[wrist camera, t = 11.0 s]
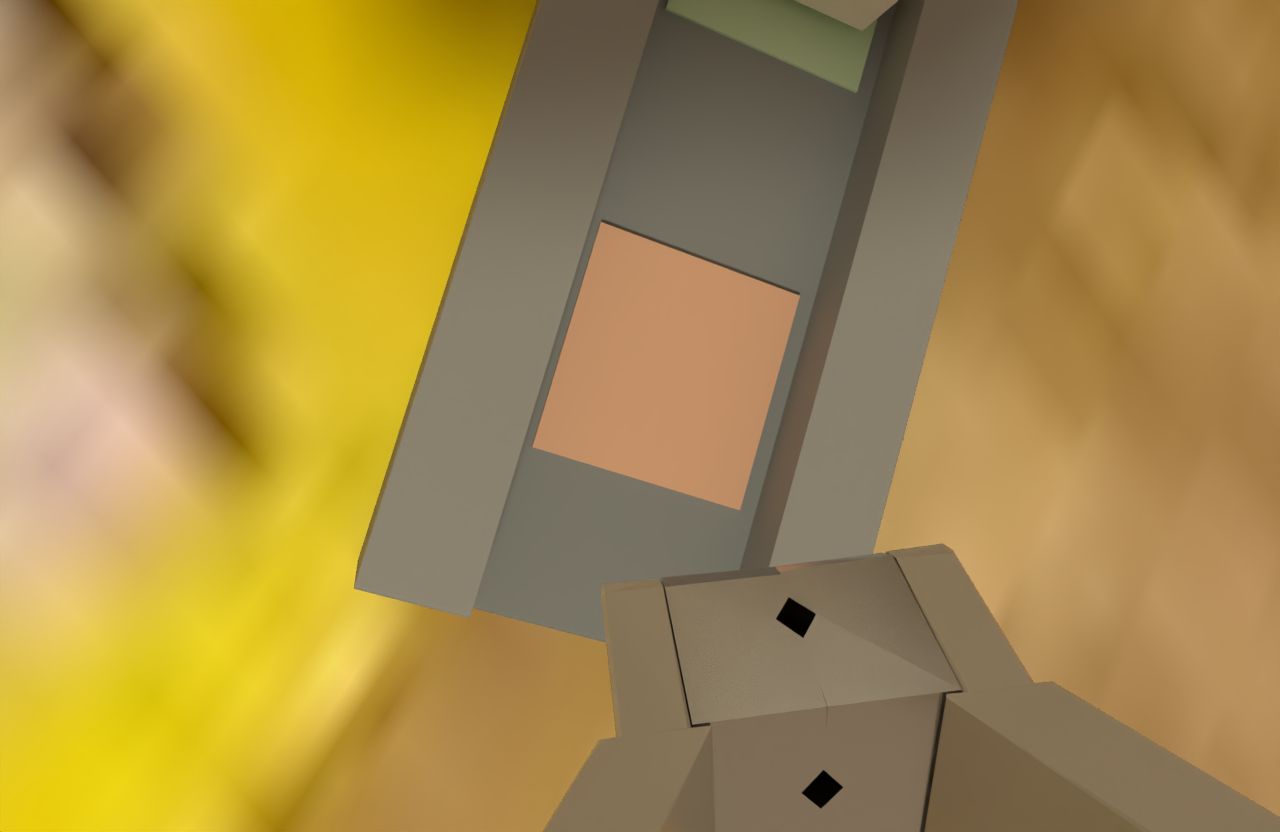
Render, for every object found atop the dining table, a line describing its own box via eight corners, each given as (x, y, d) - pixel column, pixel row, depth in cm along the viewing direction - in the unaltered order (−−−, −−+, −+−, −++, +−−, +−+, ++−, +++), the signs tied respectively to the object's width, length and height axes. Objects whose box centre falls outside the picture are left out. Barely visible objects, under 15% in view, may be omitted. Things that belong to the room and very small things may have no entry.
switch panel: (750, 663, 25) (830, 711, 20) (358, 560, 22) (353, 588, 18) (964, -117, 27) (1078, -225, 23) (630, -288, 24) (684, -446, 20)
